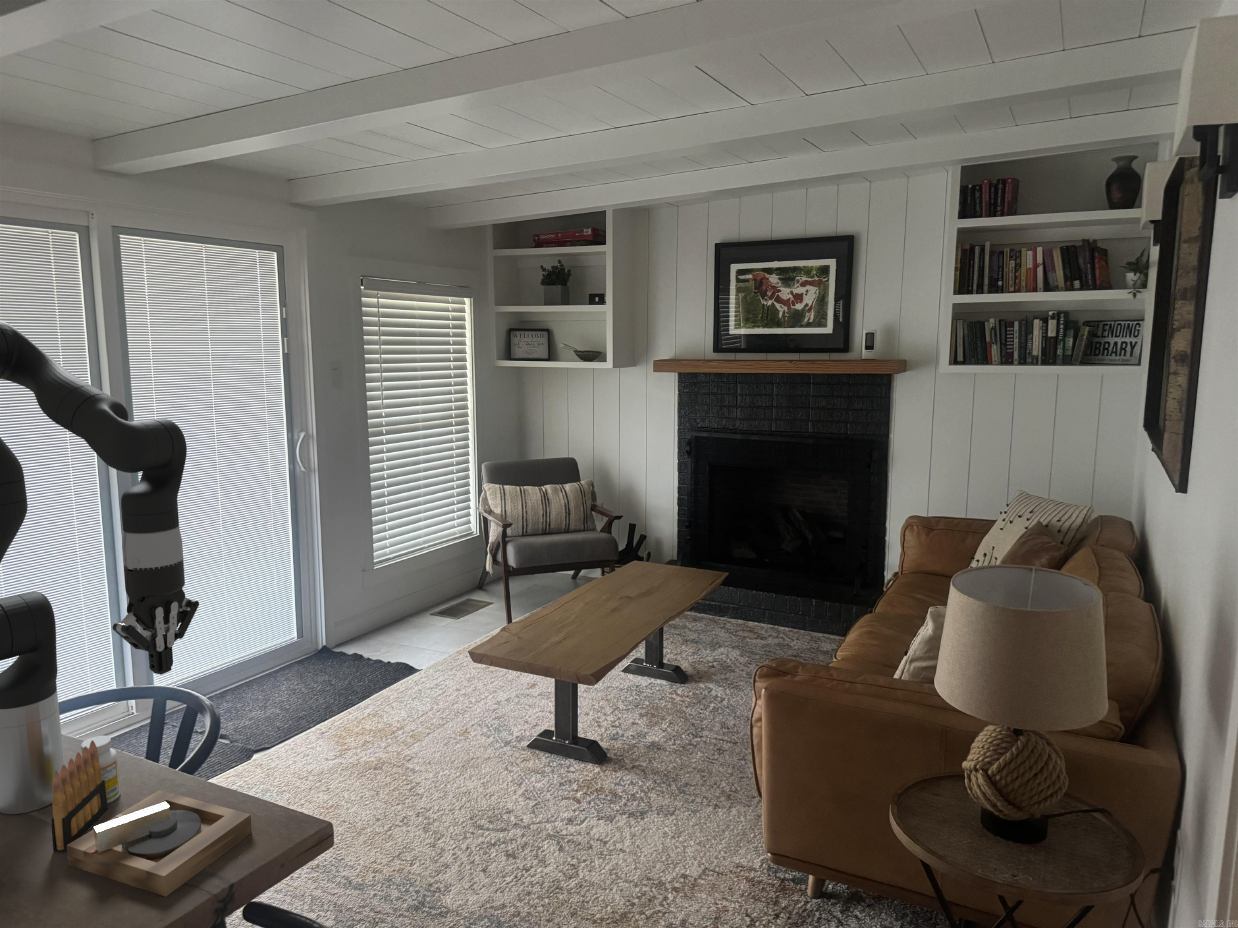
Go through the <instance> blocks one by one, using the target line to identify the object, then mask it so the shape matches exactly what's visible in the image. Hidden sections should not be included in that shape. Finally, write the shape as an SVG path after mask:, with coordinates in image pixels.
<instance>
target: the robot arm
mask: <svg viewBox="0 0 1238 928" xmlns="http://www.w3.org/2000/svg"><path fill="white" fill-rule="evenodd" d="M0 380H4V381H9V382H11V383H15V384H17V385H19V386H22V387H24V388H27V390H30V392H32V393H33V394H34V397H35V401H36V402H37V405H38V407H39V408H40V410H41V411H42V413H43V414H44V415H45V416H46V417H47V418H49V419H50V420H51V421H52V422H54V423H55V424H56V425H58V426H60V427H62V429H63V428H64V429H65V430H67V431H68V432H70V433H72V434H73V435H75V436H77V437H78V438H80V439H82V440H83V441H85V443H86V444H87V445H88V446H89V448H90V449H91V450H93V452H94V453H95V454H96V455H97V456H98V457H99V458H100V460H101V461H103V463H104V464H106V465H107V466H108V467H110V468H112V469H114V470H116V471H119V472H121V473H125V474H126V473H128V474H136V473H141V475H140V476H141V477H140V480H139V481H138V483H136V484H135V485H133V486H132V487H130V488H128V489H126V490H125V491H124V492H123V493H122V495H121V497H120V511H121V521H122V524H121V525H122V539H121V540H122V541H121V542H122V543H121V548H122V549H121V550H122V551H121V552H122V562H123V563H122V564H123V575H124V588H125V592H126V595H127V597H128V604H127V606H126V613H127V614H126V615H125V617H124V618H123V619H122V620H121V621H120V622H118V621H117V622H115V623H113V625H112V630H113V631H114V632H115V633H116V635H119V637H120V638H122V639H123V640H125V642H127V643H128V644H129V645H130V646H131V647H132V648H134V649H135V650H141V651H144V652H147V655H148V664H149V670H150V671H152V673H153V674H156V675H159V676H160V675H161V676H162V675H164V674H166V673H169V672H171V671H172V667H173V664H174V654H173V651H174V650H173V646H174V644H175V642H177V640H181V639H183V638H184V637H185V635H186V632H187V631H188V629H189V627H190V625H191V623H192V620H193V618H194V617H195V614H196V613H197V610H198V609H199V606H200V602H199V600H194V599H190V598H187V597H186V593H185V591H184V589H183V588H184V587H185V585H186V580H185V579H186V577H185V565H184V563H185V562H184V561H185V560H184V550H183V538H182V534H181V529H180V521H179V519H180V518H179V516H180V515H179V506H178V505H179V504H178V496H179V493H180V488H181V485H182V482H183V481H182V478H183V476H184V470H185V465H186V460H187V453H188V452H187V451H188V449H187V447H188V446H187V441H186V438H185V435H184V433H183V430H182V429H181V427H180V426H179V425H178V424H177V423H175V422H174V421H173V420H171V419H167V418H151V419H144V420H136V421H135V420H134V421H129V413H128V410H127V408H126V407H125V405H124V404H123V403H122V402H121V401H118V399H116V398H114V397H112V396H111V395H110V394H107V393H105V392H104V391H103V390H101V389H99V388H97V387H95V386H94V385H91V384H90V383H88V382H86V381H84V380H82V379H81V378H79V377H78V376H76V375H75V374H73V373H72V372H70V371H68V370H67V369H66V368H65V367H64V366H63V365H61V364H59V363H58V362H57V361H56V360H55V359H54V358H52V357H51V356H50V355H49V354H48V353H46V352H45V351H44V350H42V349H41V348H40V347H39V346H38V345H36V344H35V343H34V342H33V341H32V340H30V339H29V337H27V336H26V335H25V334H24V333H22V332H21V331H20V330H18V329H17V328H16V327H14V326H13V325H11V324H10V323H7V322H6V321H4V320H1V319H0ZM23 469H24V468H23V466H22V464H21V462H20V460H19V459H18V456H17V455H16V454H15V453H14V452H13V450H12V449H11V448H10V447H9V446H8V444H6V442H5V441H4V440H3V439H2V437H1V436H0V564H1V563H2V561H3V559H4V557H5V555H6V553H7V552H8V550H9V548H10V546H11V545H12V543H13V542H14V539H15V538H16V536H17V535H18V533H19V531H20V529H21V527H22V525H23V523H24V521H25V519H26V516H27V512H28V507H29V505H28V497H27V488H26V480H25V474H24V470H23ZM56 625H57V624H56V618H55V612H54V609H53V606H52V603H51V602H50V599H49V598H48V597H47V596H46V595H45V594H44V593H41V592H40V591H28V592H27V591H26V592H24V593H23V592H21V593H19V594H15V595H9V596H6V597H0V661H5V660H9V659H12V658H16V657H17V658H16V659H15V660H14V661H13V662H12V663H11V664H10V665H9V666H8V667H7V668H6V669H4V670H3V671H1V672H0V813H1V814H7V815H17V814H18V815H19V814H24V813H30V812H34V811H37V810H40V809H42V808H45V807H47V806H49V805H51V804H52V798H53V787H52V783H53V776H54V773H55V771H57V772H58V773H59V775H60V773H61V768H62V766H63V765H65V758H64V749H63V739H62V727H61V725H62V724H61V718H60V706H59V698H58V695H59V694H58V686H57V678H58V659H57V658H58V657H57V626H56ZM138 629H139V631H138Z"/></svg>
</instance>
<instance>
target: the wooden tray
mask: <svg viewBox="0 0 1238 928" xmlns="http://www.w3.org/2000/svg"><path fill="white" fill-rule="evenodd" d="M164 802H166V803H167V804H168V805H169V807H170V811H171V810H186V811H191V812H194V813H196V814H197V815H198V816H199V817H200V820H201V832H200V834H198V835H197V836H195V837H194V838H192V839H191V840H189V841H188V842H187V843H185V844H184V845H182V846H181V847H179V848H178V849H176V850H175V851H174V852H172V853H171V854H169V855H168V856H165V857H161V858H156V859H148V860H146V859H143V858H140V857H137V856H133V855H130V854H127V853H124V852H123V851H122V844H121V845H118V846H115V847H113V848H110V849H107V850H104V851H102V852H99V853H98V851H97V849H96V847H95V837H94V828H92V829H91V830H90V831H87V833H85V834H84V835H83V836H81V837H80V838H78V839H76V840H75V841H73V842H71V843H70V844H68V845H67V851H66V854H67V865H68V866H70V867H73V868H76V869H79V870H83V871H85V872H89V873H91V874H95V875H99V876H100V877H103V878H107V879H111V880H114V881H116V882H119V883H122V884H124V885H125V884H126V885H128V886H132V887H134V888H139V889H141V890H145V891H147V892H150V893H153V894H155V895H159V896H162V897H165V898H167V897H168V896H169V895H170V894H171V893H173V892H174V891H175V890H177V889H178V888H180V887H181V886H182V885H184V884H185V883H186V882H188V881H189V880H190V879H192V878H194V877H195V876H196V875H197V874H198V873H200V872H201V871H202V870H204V869H205V868H207V867H208V866H209V865H210V864H212V863H213V862H214V861H217V860H218V859H219V858H220V857H221V856H222V855H224V854H225V853H227V852H228V851H229V850H231V849H232V848H234V847H235V846H236V845H237V844H239V843H240V842H242V841H243V840H245V839H246V838H247V837H248V836H249V835H250V834H253V832H252V816H251V815H252V814H251V813H247V812H243V811H239V810H235V809H232V808H228V807H225V806H220V805H218V804H217V805H216V804H213V803H209V802H206V801H202V800H198V799H195V798H192V797H187V796H183V795H180V794H176V793H173V792H169V791H165V790H161V789H159V790H157V791H155V792H154V793H152V794H150V795H149V796H147V797H144V799H142V800H140V801H138V802H137V803H135V804H133V805H132V806H130V807H129V808H127V809H125V810H124V811H122V812H120V813H119V814H116V815H115V816H113V817H112V818H110V819H108V820H107V821H105V822H104V823H106V822H109V821H111V820H114V819H117V818H120V817H123V816H126V815H129V814H132V813H135V812H137V811H140V810H143V809H146V808H149V807H152V806H155V805H158V804H161V803H164Z"/></svg>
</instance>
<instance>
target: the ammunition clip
mask: <svg viewBox="0 0 1238 928" xmlns="http://www.w3.org/2000/svg"><path fill="white" fill-rule="evenodd" d="M52 787H53V798H52V805H51V807H52V817H51V818H50V825H51V835H52V837H51V838H52V849H53V851H52V852H57V853H58V852H67V845H68V844H70V843H71V842H73V841H75V840H76V839H78V838H80V837H81V836H83V835H85V834H87V833H88V832H89V830H90V829H91V828H92V827H93V825H94V824H95V823H96V822H97V821H98V820H99V819H101V817H102V816H103V815H104V814H105V813H106V812H108V810H109V806H108V803H107V796H106V788H105V780H102V772H101V765H100V762H99V757H98V751H97V747H96V744H95V742H94V741H93V740H92V741H91V743H90V747H89V750H88V748H87V747H86V746H85V747H84V749H83V753H82V752H81V753H80V752H79V751H78V752H76V755H75V759H73V758H72V757H71V758H70V759H69V761H68V764H67V765H65V764H64V765H63V766H62V768H61V773H60V775H59V773H58V772H57V771H55V773H54V776H53V783H52ZM86 832H87V833H86Z"/></svg>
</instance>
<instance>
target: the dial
mask: <svg viewBox="0 0 1238 928" xmlns="http://www.w3.org/2000/svg"><path fill="white" fill-rule="evenodd" d="M105 822H106V823H105ZM105 822H103V823H100V824H98V825H95V826H93V829H94V837H95V847H96V849H97V851H98V853H99V852H102V851H104V850H107V849H110V848H113V847H115V846H118V845H121V844H122V851H123V852H124V853H127V854H130V855H133V856H137V857H140V858H143V859H146V860H148V859H156V858H161V857H165V856H168V855H169V854H171V853H172V852H174V851H175V850H176V849H178V848H179V847H181V846H182V845H184V844H185V843H187V842H188V841H189V840H191V839H192V838H194V837H195V836H197V835H198V834H200V832H201V820H200V817H199V816H198V815H197V814H196V813H194V812H191V811H186V810H171V811H170V807H169V805H168V804H167V803H166V802H164V803H161V804H158V805H155V806H152V807H149V808H146V809H143V810H140V811H137V812H135V813H132V814H129V815H126V816H123V817H120V818H117V819H114V820H111V821H109V822H107V821H105Z"/></svg>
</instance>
